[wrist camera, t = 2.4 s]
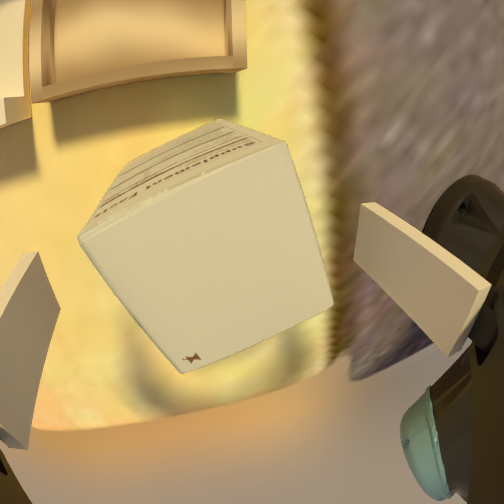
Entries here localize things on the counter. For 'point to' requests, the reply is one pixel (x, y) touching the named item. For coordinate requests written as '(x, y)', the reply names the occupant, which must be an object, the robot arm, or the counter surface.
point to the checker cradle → (14, 62)
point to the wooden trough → (130, 42)
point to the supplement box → (209, 244)
